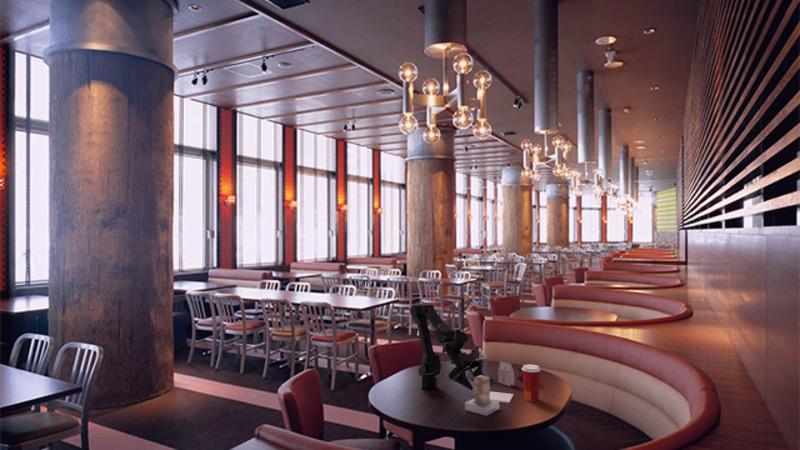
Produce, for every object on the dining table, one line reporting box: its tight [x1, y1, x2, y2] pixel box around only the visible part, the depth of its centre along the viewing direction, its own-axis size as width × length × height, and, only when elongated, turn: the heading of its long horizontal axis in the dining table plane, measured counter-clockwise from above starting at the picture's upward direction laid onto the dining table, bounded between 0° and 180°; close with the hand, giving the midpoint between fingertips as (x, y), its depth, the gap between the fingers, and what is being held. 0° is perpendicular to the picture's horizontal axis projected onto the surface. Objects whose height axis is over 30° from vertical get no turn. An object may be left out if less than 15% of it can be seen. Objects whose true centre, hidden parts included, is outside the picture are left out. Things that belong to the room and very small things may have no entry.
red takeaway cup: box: [517, 366, 524, 382], centre depth 234 cm, size 7×7×15 cm
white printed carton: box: [497, 361, 515, 387], centre depth 232 cm, size 4×7×10 cm, turn 37°
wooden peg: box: [473, 375, 491, 406], centre depth 200 cm, size 4×4×13 cm
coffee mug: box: [466, 354, 488, 380], centre depth 245 cm, size 13×10×10 cm
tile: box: [490, 391, 514, 404], centre depth 214 cm, size 14×10×1 cm
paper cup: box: [521, 364, 541, 402], centre depth 211 cm, size 8×8×14 cm
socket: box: [464, 398, 500, 417], centre depth 200 cm, size 10×10×3 cm
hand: (478, 386), depth 201 cm, fingers open, 9 cm apart
